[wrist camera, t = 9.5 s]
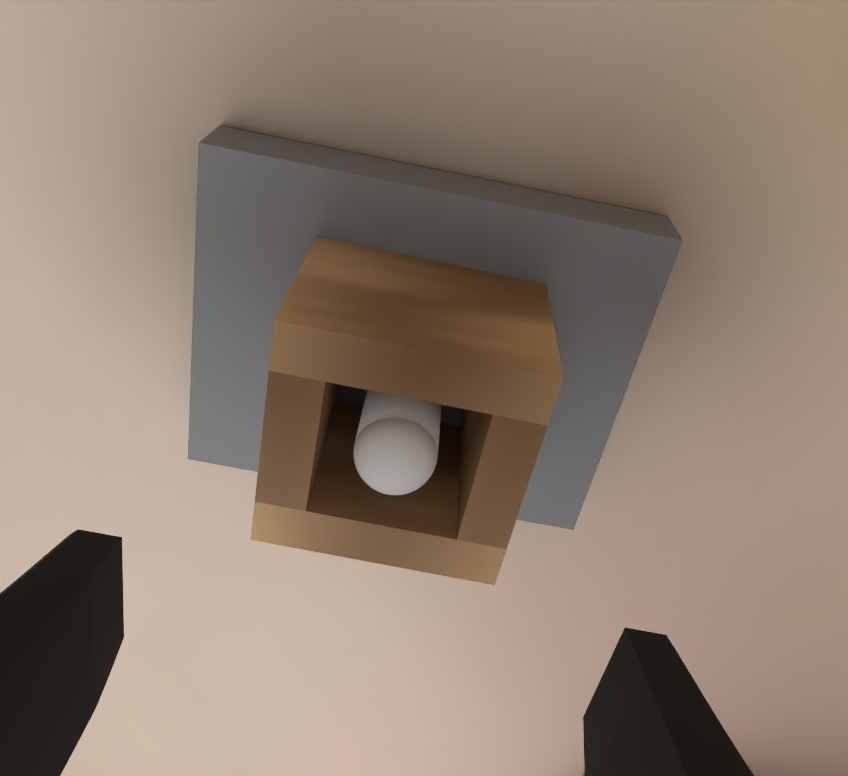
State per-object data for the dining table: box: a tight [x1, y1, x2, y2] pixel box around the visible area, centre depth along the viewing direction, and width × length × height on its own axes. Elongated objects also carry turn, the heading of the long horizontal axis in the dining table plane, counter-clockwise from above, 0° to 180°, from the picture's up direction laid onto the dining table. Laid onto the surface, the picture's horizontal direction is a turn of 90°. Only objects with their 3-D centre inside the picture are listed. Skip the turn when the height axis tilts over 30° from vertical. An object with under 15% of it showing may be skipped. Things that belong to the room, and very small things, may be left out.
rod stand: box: [188, 126, 682, 530], centre depth 17 cm, size 10×8×6 cm
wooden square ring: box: [251, 237, 564, 585], centre depth 16 cm, size 5×5×4 cm
